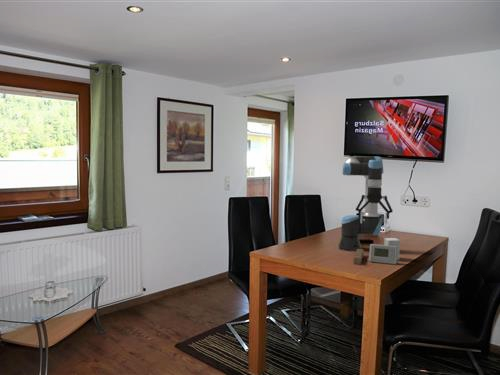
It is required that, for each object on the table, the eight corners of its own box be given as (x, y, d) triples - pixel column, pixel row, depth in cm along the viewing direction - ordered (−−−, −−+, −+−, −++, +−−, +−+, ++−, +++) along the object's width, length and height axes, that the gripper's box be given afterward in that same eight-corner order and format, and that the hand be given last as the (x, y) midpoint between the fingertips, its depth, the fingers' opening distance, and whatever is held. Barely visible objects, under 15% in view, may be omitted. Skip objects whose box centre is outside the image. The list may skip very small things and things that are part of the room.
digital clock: (367, 262, 242) (368, 245, 242) (371, 259, 250) (372, 242, 249) (395, 266, 234) (395, 248, 233) (398, 262, 241) (399, 245, 240)
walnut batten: (356, 254, 260) (357, 248, 260) (363, 255, 259) (363, 249, 259) (353, 263, 238) (353, 257, 237) (360, 264, 236) (360, 258, 236)
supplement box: (395, 257, 255) (395, 237, 254) (399, 260, 248) (400, 240, 247) (383, 257, 255) (384, 237, 254) (387, 260, 247) (388, 240, 246)
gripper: (351, 186, 227) (350, 223, 228) (397, 188, 218) (396, 226, 219) (353, 185, 234) (352, 221, 235) (398, 187, 225) (396, 224, 226)
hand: (373, 223), depth 227 cm, fingers open, 13 cm apart
